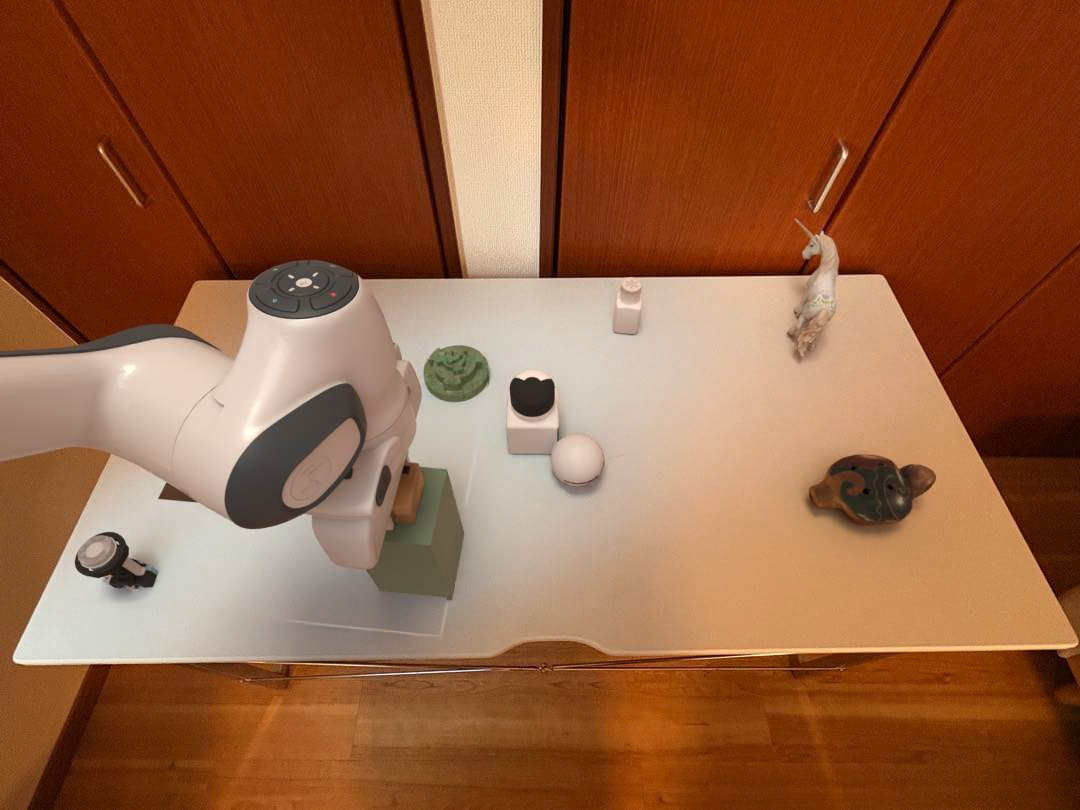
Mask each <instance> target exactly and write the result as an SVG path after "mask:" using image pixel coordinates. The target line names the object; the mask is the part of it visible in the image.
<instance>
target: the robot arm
mask: <svg viewBox="0 0 1080 810" xmlns="http://www.w3.org/2000/svg"><path fill="white" fill-rule="evenodd" d="M246 308H247V322H246V326H245V327H246V328H245V331H244V335H243V338H242V341H241V344H240V347H239V349H238V352H237V354H236V357H234V356H232V355H230V354H227V353H226V352H223V351H222V350H221V349H220V348H219V347H217V346H215V345H214V344H212V343H210V342H209V341H207V340H206V339H204V338H202V337H201V336H199V335H197V334H195V333H194V332H192V331H191V330H188V329H186V328H184V327H181V326H178V325H173V324H166V323H153V324H144V325H140V326H139V325H138V326H135V327H131V328H128V329H125V330H122V331H118V332H115V333H113V334H110V335H107V336H104V337H100V338H98V339H95V340H92V341H87V342H84V343H80V344H75V345H69V346H62V347H52V348H35V349H34V348H33V349H14V350H0V463H2V462H6V461H7V462H8V461H11V460H12V461H13V460H16V459H21V458H25V457H30V456H34V455H35V456H36V455H39V454H44V453H48V452H53V451H58V450H62V449H68V448H73V447H74V448H77V447H78V448H88V449H92V450H97V451H100V452H104V453H107V454H110V455H112V456H115V457H118V458H121V459H123V460H125V461H127V462H129V463H132V464H134V465H136V466H137V467H139V468H141V469H143V470H144V471H146V472H148V473H150V474H152V475H153V476H155V477H157V478H158V479H160V480H162V481H164V482H165V483H166V482H167V483H169V484H170V485H172V486H174V487H175V488H177V489H179V490H180V491H182V492H183V493H185V494H186V495H188V497H190V498H192V499H193V500H195V501H197V502H198V504H200V505H202V506H203V507H205V508H207V509H208V510H210V511H212V512H214V513H215V514H217V515H220V516H221V517H223V518H225V519H226V520H228V521H230V522H232V523H233V524H234V525H236V526H237V527H240V528H242V529H246V530H260V529H261V530H262V529H267V528H273V527H276V526H279V525H282V524H286V523H288V522H290V521H292V520H295V519H296V518H298V517H301V516H302V515H306V516H307V515H308V516H311V527H312V531H313V534H314V536H315V539H316V540H317V542H318V544H319V545H320V547H321V549H322V550H323V552H324V554H325V555H326V556H327V558H328V559H329V561H331V562H332V564H334V565H336V566H337V567H340V568H346V569H352V570H353V569H355V570H366V569H371V568H373V567H374V566H375V565H376V564H377V562H378V560H379V556H380V552H381V548H382V544H383V541H384V537H385V533H386V530H393V527H394V523H395V519H396V515H395V513H394V510H392V507H393V504H394V500H395V496H396V492H397V489H398V485H399V481H400V478H401V474H402V470H403V466H404V463H405V462H410V463H411V460H410V457H409V451H410V447H411V446H412V443H413V441H414V439H415V436H416V433H417V418H418V415H419V411H420V407H421V402H422V395H423V394H422V385H421V382H420V380H419V377H418V375H417V373H416V369H415V368H414V366H413V364H412V363H411V362H410V361H409V360H405V359H403V357H402V356H403V355H402V353H401V348H400V345H399V344H398V343H395V342H394V340H393V338H392V335H391V332H390V329H389V326H388V323H387V320H386V318H385V315H384V313H383V310H382V308H381V306H380V303H378V300H377V299H376V297H375V295H374V293H373V291H372V290H371V289H370V287H369V286H368V284H367V283H366V282H365V281H364V279H363V278H362V277H361V276H360V275H359V274H357V273H356V272H354V271H353V270H351V269H348V268H346V267H344V266H341V265H339V264H335V263H332V262H330V261H324V260H318V259H310V260H309V259H303V260H301V259H300V260H293V261H289V262H285V263H281V264H278V265H275V266H273V267H270V268H269V269H268V268H267V269H266V270H265V271H263V272H261V273H260V274H258V276H256V277H255V278H254V279H253V280H252V282H251V283H250V285H249V287H248V289H247V291H246ZM197 502H196V503H197Z"/></svg>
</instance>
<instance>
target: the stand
mask: <svg viewBox="0 0 1080 810" xmlns="http://www.w3.org/2000/svg"><path fill="white" fill-rule="evenodd" d="M419 467H420V470H421V473H422V476H423V479H424V482H425V483H424V487H423V491H422V495H421V499H420V503H419V508H418V512H417V516H416V520H415V524H407V523H396V522H395V523H394V527H393V530H386V533H385V537H384V541H383V544H382V548H381V552H380V556H379V560H378V562H377V564H376V565H375V566H374V567H373V568H371V569H365V571H366V572H367V574H368V576H369V577H370V578H371V579H372V581H373V583H374V584H375V586H376V588H377V589H378V591H379V592H387V593H394V594H395V593H397V594H405V595H406V594H407V595H415V596H416V595H417V596H428V597H438V598H446V601H452V600H453V597H454V596H453V595H454V591H455V585H456V580H457V575H458V569H459V563H460V559H461V553H462V548H463V544H464V543H463V542H464V536H465V531H464V527H463V524H462V519H461V516H460V512H459V508H458V504H457V500H456V497H455V493H454V490H453V486H452V482H451V478H450V474H449V470H448V469H447V468H439V467H428V466H427V467H426V466H419Z"/></svg>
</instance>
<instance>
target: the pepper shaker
mask: <svg viewBox="0 0 1080 810" xmlns="http://www.w3.org/2000/svg"><path fill="white" fill-rule="evenodd" d="M642 288H643V284H642V281H641V280H640V279H639V278H637V277H634V276H629V277H625V278H623V279H622V281H621V283H620V290H619V291H618V292H617V293H616V301H615V309H614V317H613V326H612V327H613V332H614V333H617V334H626V335H636V334H637V333H638V328H639V324H640V318H641V314H642V313H641V312H642V306H643V295H642Z"/></svg>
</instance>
